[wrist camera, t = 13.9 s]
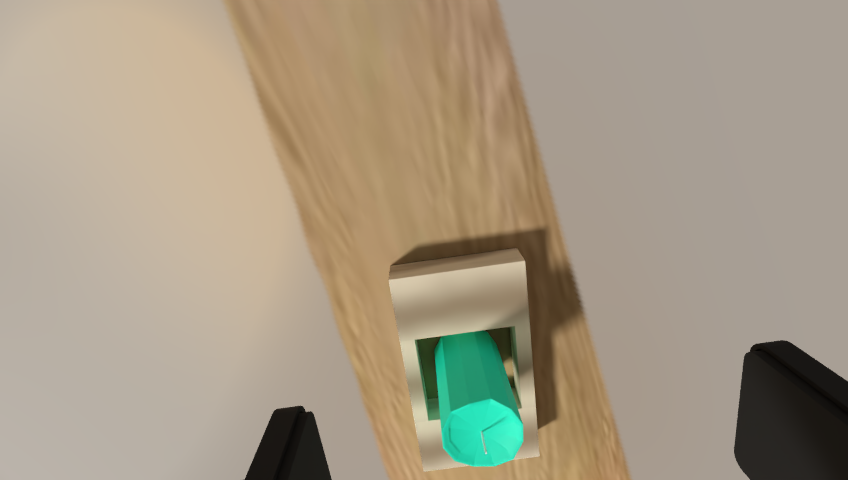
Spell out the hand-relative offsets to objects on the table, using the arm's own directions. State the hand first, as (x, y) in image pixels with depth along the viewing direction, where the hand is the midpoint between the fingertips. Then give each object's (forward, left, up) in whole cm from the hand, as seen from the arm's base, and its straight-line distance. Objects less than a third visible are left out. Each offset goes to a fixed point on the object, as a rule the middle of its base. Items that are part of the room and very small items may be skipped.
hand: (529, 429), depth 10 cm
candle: (+17, 0, -28) cm, 33 cm away
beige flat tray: (+17, 0, -28) cm, 33 cm away
